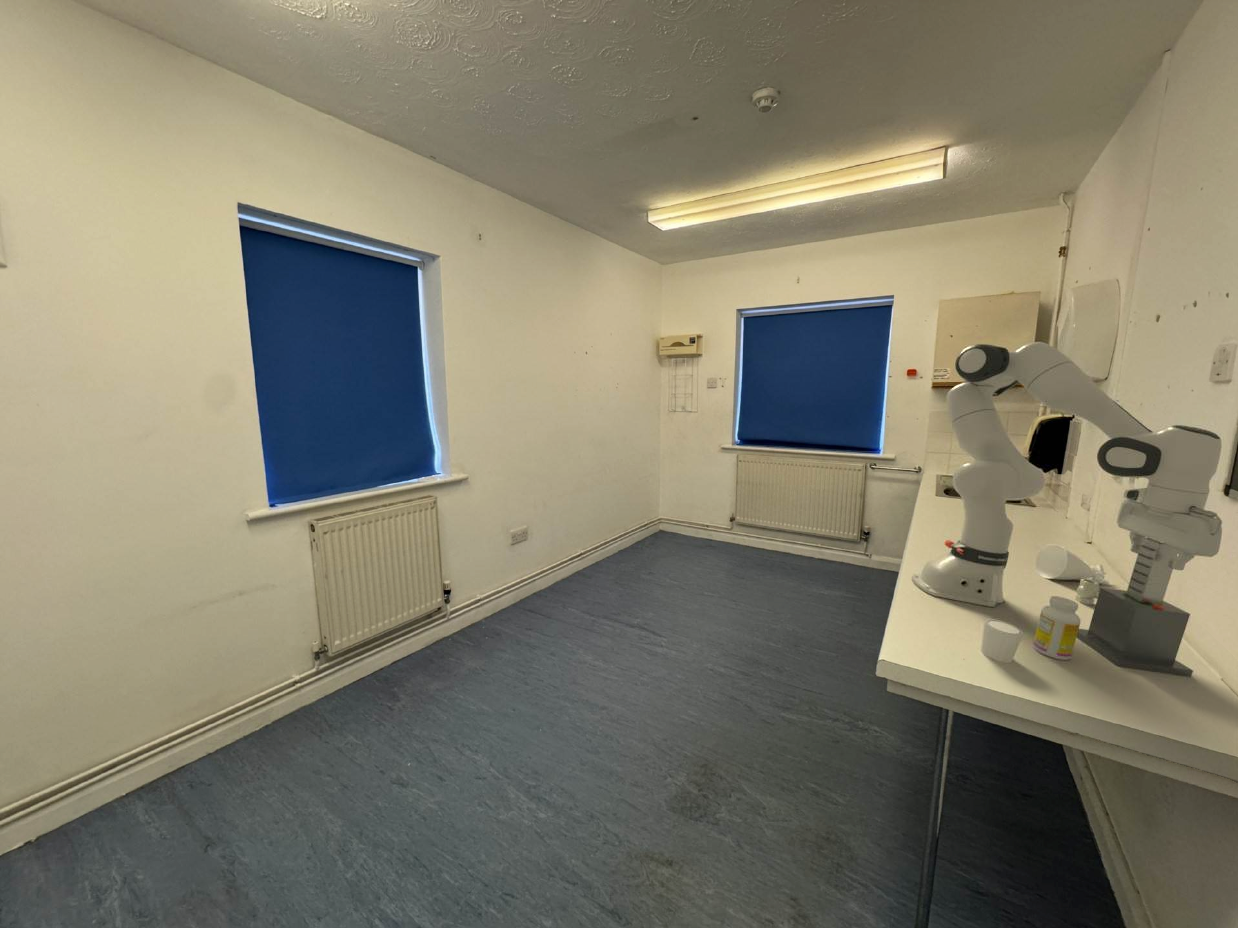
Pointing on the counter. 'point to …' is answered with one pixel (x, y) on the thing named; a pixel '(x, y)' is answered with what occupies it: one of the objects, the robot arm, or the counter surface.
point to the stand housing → (1137, 633)
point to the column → (1151, 572)
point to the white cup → (1000, 640)
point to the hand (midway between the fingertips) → (1155, 560)
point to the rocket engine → (1066, 565)
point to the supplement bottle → (1057, 628)
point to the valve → (1087, 592)
